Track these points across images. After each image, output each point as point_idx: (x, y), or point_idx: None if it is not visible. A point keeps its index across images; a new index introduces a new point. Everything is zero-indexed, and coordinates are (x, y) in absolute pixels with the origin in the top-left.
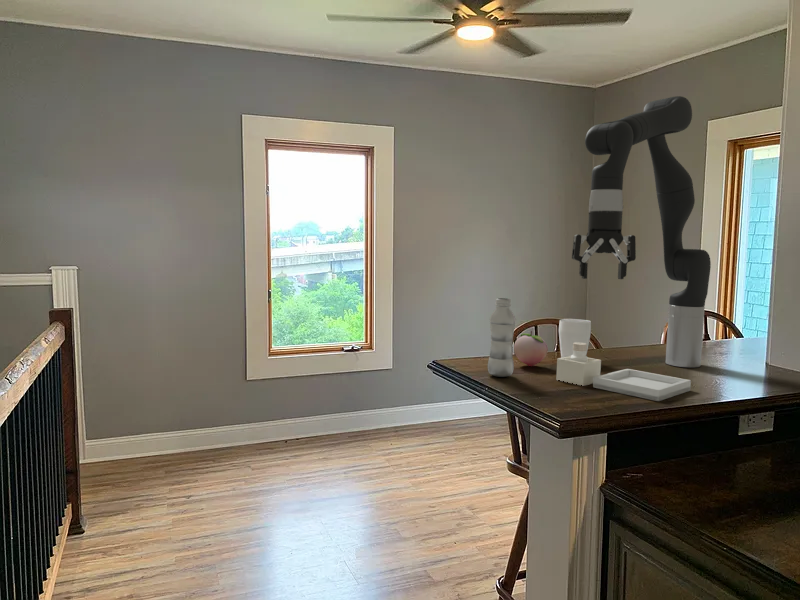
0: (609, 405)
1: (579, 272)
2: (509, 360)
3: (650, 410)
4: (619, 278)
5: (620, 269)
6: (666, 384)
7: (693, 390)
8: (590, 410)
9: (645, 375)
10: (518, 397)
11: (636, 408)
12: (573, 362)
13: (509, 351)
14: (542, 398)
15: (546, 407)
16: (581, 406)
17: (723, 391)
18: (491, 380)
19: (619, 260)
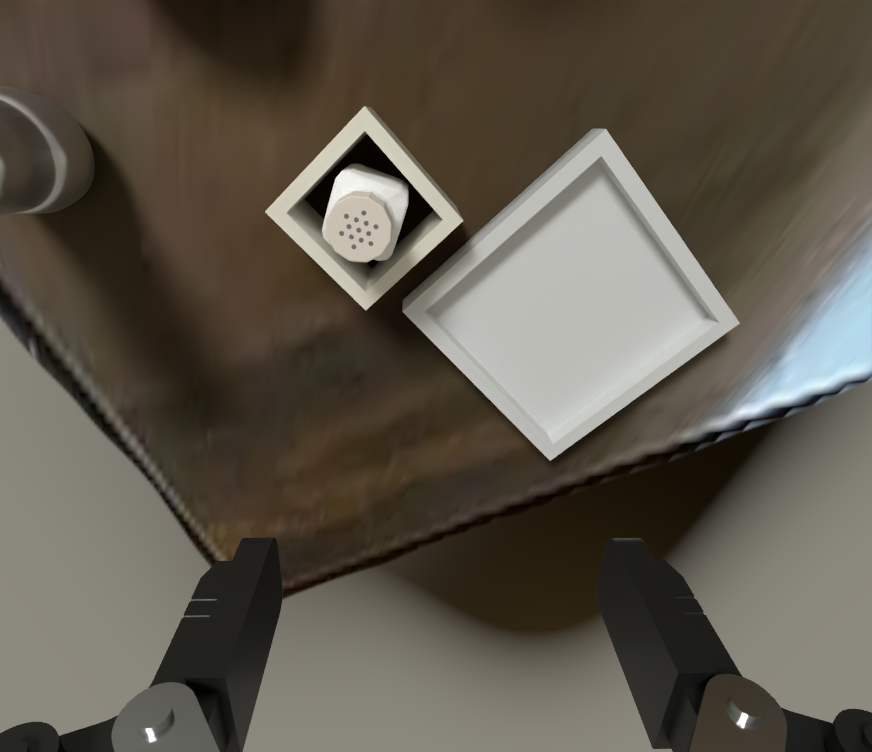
0: (392, 489)
1: (196, 594)
2: (46, 201)
3: (481, 517)
4: (602, 574)
5: (631, 665)
6: (660, 297)
7: (733, 306)
8: (331, 531)
9: (637, 212)
10: (147, 442)
11: (453, 506)
12: (329, 274)
13: (16, 203)
14: (218, 445)
15: (224, 520)
16: (315, 504)
17: (826, 309)
18: (27, 229)
19: (695, 726)
